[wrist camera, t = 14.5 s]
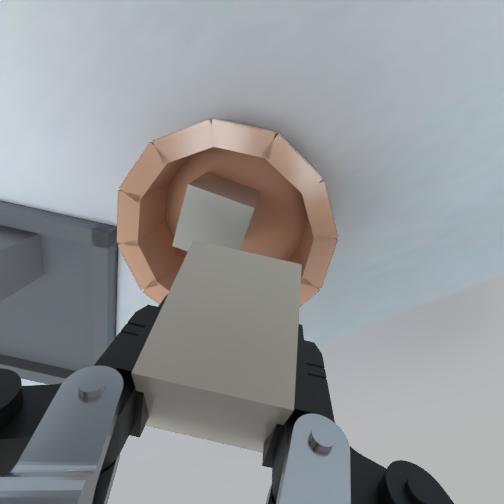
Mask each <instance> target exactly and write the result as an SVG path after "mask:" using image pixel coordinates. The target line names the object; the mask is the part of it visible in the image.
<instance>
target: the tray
mask: <svg viewBox="0 0 504 504" xmlns="http://www.w3.org/2000/svg"><path fill="white" fill-rule="evenodd" d="M0 225H3V226H7V227H12V228H16V229H21V230H25V231H30V232H34V233H39V234H40V242H41V253H42V265H43V275H42V276H40V277H39V278H37V279H36V280H34V281H33V282H31V283H29V284H28V285H26V286H25V287H23V288H21V289H20V290H18V291H17V292H15V293H14V294H12V295H10V296H9V297H7V298H6V299H4V300H2V301H1V302H0V368H2V369H9V370H12V371H14V372H16V373H17V374H18V375H19V376H20V378H22V379H27V380H31V381H36V382H40V383H45V384H49V385H52V384H60V383H63V382H64V381H65V379H66V378H67V377H69V376H70V375H71V374H73V373H74V372H76V371H78V370H80V369H83V368H86V367H90V366H94V364H95V363H96V362H97V361H98V359H99V358H100V357H101V356H102V354H103V353H104V352H105V351H106V349H107V348H108V347H109V345H110V344H111V343H112V342H113V340H114V339H115V336H116V298H117V260H118V243H117V227H115V226H110V225H106V224H101V223H97V222H92V221H88V220H83V219H79V218H74V217H70V216H66V215H61V214H57V213H52V212H48V211H43V210H39V209H34V208H30V207H25V206H21V205H16V204H12V203H7V202H3V201H0Z"/></svg>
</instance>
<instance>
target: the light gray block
mask: <svg viewBox="0 0 504 504" xmlns="http://www.w3.org/2000/svg"><path fill="white" fill-rule="evenodd" d="M42 275H43V265H42V253H41V242H40V234H39V233H34V232H30V231H25V230H21V229H16V228H12V227H7V226H3V225H0V302H1V301H2V300H4V299H6V298H7V297H9V296H10V295H12V294H14V293H15V292H17V291H18V290H20V289H21V288H23V287H25V286H26V285H28V284H29V283H31V282H33V281H34V280H36V279H37V278H39V277H40V276H42Z"/></svg>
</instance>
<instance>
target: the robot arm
mask: <svg viewBox="0 0 504 504" xmlns="http://www.w3.org/2000/svg"><path fill="white" fill-rule="evenodd" d="M167 295H168V294H167ZM167 295H166V296H165V298H164V299H163V301H162V302H161V303H160V305H159V306H158V307H156V306H151V305H147V306H146V307H144V308H142V309H140V310H138V311H137V312H135V314H134V315H133V316H132V317H131V319H130V320H129V321H128V324H126V325H125V326H124V328H123V329H122V330H121V333H119V334H118V335H117V337H116V338H115V339H114V340H113V342H112V343H111V344H110V345H109V347H108V348H107V349H106V351H105V352H104V353H103V354H102V356H101V357H100V358H99V359H98V361H97V362H96V363H95V364H94V366H90V367H86V368H83V369H80V370H78V371H76V372H74V373H73V374H71V375H70V376H69V377H67V378H66V379H65V381H64V382H63V383H60V384H52V385H34V386H22V384H21V378H20V376H19V375H18V374H17V373H16V372H14V371H12V370H9V369H2V368H0V504H107V502H108V499H109V495H110V491H111V487H112V484H113V480H114V477H115V473H116V469H117V466H118V462H119V457H120V452H121V450H122V448H123V446H124V444H125V442H126V440H127V438H128V436H129V435H132V436H136V437H140V435H141V433H142V431H143V429H144V427H145V424H146V422H147V420H148V418H149V414H148V410H147V405H146V401H145V396H144V392H139V391H136V388H135V385H134V381H133V377H132V374H131V373H132V370H133V368H134V366H135V364H136V362H137V360H138V358H139V355H140V353H141V351H142V349H143V347H144V345H145V343H146V340H147V338H148V336H149V334H150V332H151V330H152V328H153V325H154V323H155V321H156V319H157V317H158V315H159V313H160V310H161V308H162V306H163V304H164V302H165V300H166V298H167ZM262 465H263V466H266V467H271V468H273V471H272V472H273V473H272V485H271V487H270V490H269V493H268V497H267V502H266V504H454V503H453V501H452V500H451V499H450V497H449V496H448V495H447V493H446V492H445V491H444V489H443V488H442V487H441V486H440V484H439V483H438V482H437V481H436V480H435V479H434V478H433V477H432V476H431V475H430V474H429V473H428V472H427V471H425V470H424V469H422V468H421V467H419V466H417V465H415V464H413V463H410V462H407V461H401V460H400V461H395V462H392V463H391V464H390V465H389V466H388V468H387V469H386V468H384V467H382V466H380V465H379V464H377V463H375V462H373V461H371V460H370V459H368V458H366V457H364V456H362V455H361V454H359V453H358V452H356V451H355V450H354V449H352V448H351V447H350V446H349V442H348V440H347V438H346V436H345V434H344V433H343V431H342V430H341V429H340V427H338V425H336V424H335V421H334V416H333V411H332V405H331V400H330V395H329V389H328V384H327V380H326V373H325V369H324V363H323V357H322V354H321V352H320V351H319V349H318V348H317V346H316V345H315V343H313V342H309V341H304V337H303V328H302V325H300V324H299V325H298V344H297V364H296V383H295V402H294V411H293V413H292V414H291V415H290V417H289V418H288V419H287V421H286V422H285V424H284V425H281V424H276V426H275V427H274V429H273V430H272V432H271V433H270V435H269V436H268V438H267V439H266V440H265V442H264V445H263V464H262Z"/></svg>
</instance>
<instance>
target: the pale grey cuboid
mask: <svg viewBox="0 0 504 504" xmlns="http://www.w3.org/2000/svg"><path fill="white" fill-rule="evenodd" d="M259 193H260V191H259V190H257V189H254V188H251V187H248V186H246V185H243V184H240V183H237V182H235V181H232V180H229V179H226V178H224V177H221V176H218V175H215V174H213V173H210V172H206V173H205V174H203V175H201V176H200V177H198V178H197V179H195V180H194V181H192V182H191V183H189V184H188V186H187V190H186V194H185V197H184V201H183V205H182V209H181V213H180V217H179V221H178V225H177V229H176V233H175V237H174V241H173V245H172V246H174V247H177V248H179V249H182V250H185V251H188V250H189V248H190V246H191V244H192V242H193V240H196V241H200V242H205V243H209V244H214V245H218V246H222V247H227V248H231V249H236V250H240V248H241V246H242V243H243V240H244V237H245V235H246V232H247V229H248V226H249V223H250V221H251V218H252V215H253V212H254V209H255V206H256V203H257V200H258V196H259Z"/></svg>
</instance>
